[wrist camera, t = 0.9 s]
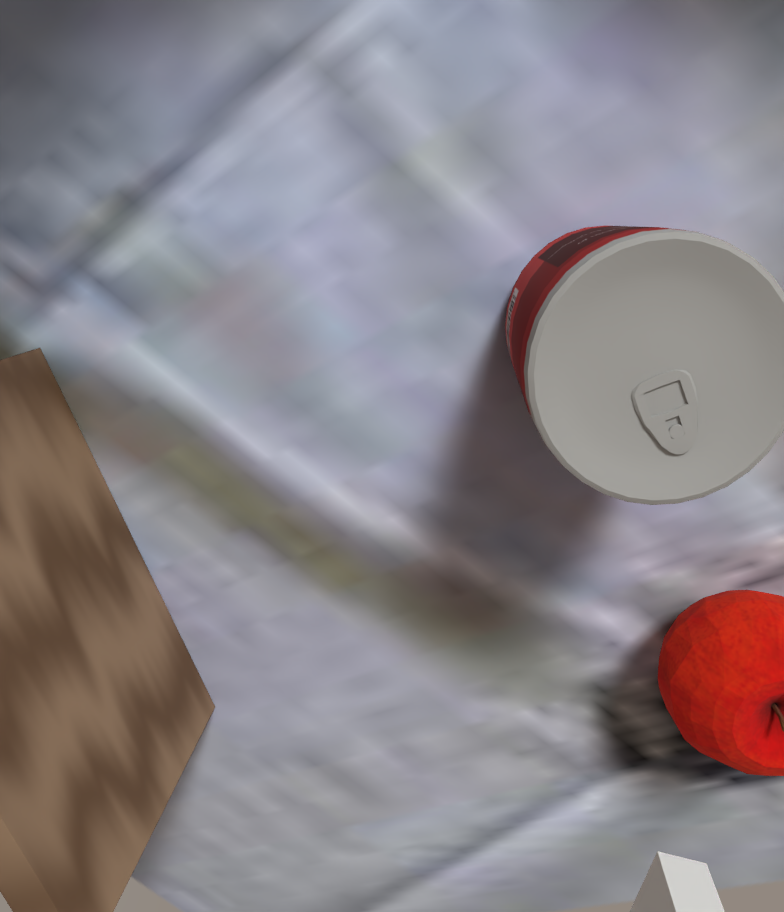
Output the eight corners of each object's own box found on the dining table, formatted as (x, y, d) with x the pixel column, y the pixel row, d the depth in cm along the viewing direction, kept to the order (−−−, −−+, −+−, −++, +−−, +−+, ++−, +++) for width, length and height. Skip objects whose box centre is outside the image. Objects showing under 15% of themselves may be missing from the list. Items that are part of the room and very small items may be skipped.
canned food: (573, 447, 33) (627, 554, 23) (465, 305, 31) (468, 348, 21) (727, 342, 31) (863, 405, 21) (619, 184, 29) (706, 166, 19)
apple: (822, 551, 33) (918, 640, 26) (807, 700, 36) (892, 817, 29) (640, 558, 34) (687, 645, 27) (637, 703, 37) (680, 818, 30)
